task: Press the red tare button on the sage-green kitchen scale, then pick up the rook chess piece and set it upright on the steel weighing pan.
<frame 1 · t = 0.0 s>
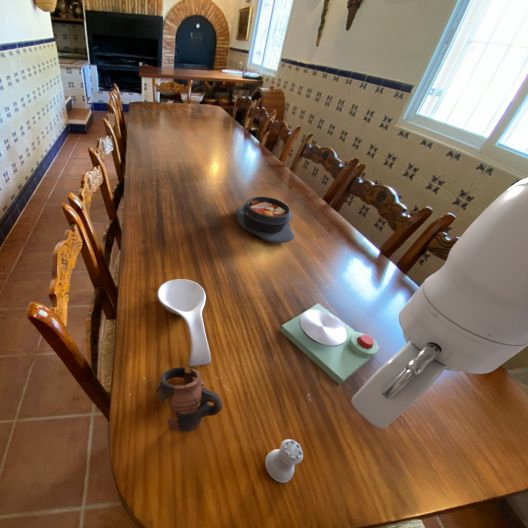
hand: (385, 392, 39), 19 cm above the table, tool pointing down, fingers open, 8 cm apart
scale: (326, 342, 69), on the table
casserole: (262, 227, 106), on the table
tare button: (365, 341, 64), point 4 cm above the table, slide at 0.1 cm
pottery mug: (187, 406, 55), on the table
weighing pan: (316, 337, 69), resting on scale
rook chess piece: (277, 467, 48), on the table
spoon rest: (186, 323, 70), on the table
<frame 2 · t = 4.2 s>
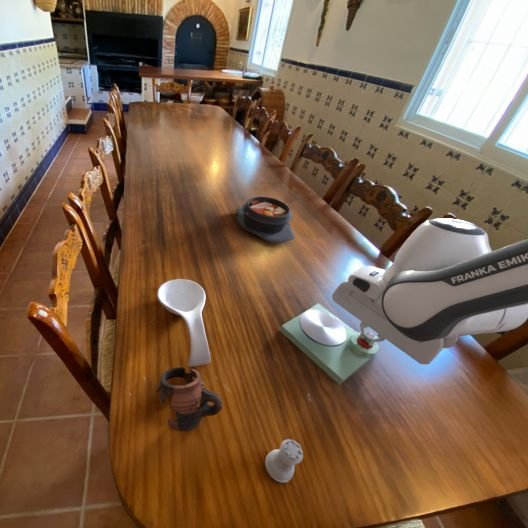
hand: (365, 340, 64), 4 cm above the table, tool pointing down, fingers closed, pressing on tare button
tare button: (364, 342, 65), point 3 cm above the table, slide at -0.4 cm, touching gripper
everything else where it was.
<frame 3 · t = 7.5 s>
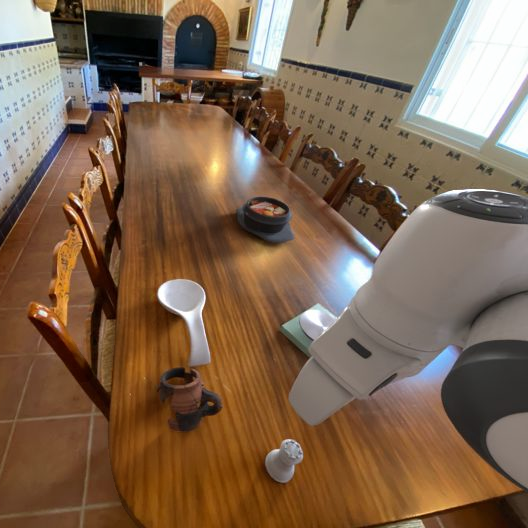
hand: (334, 394, 41), 17 cm above the table, tool pointing down, fingers closed
tare button: (365, 341, 64), point 4 cm above the table, slide at 0.1 cm
everything else where it was.
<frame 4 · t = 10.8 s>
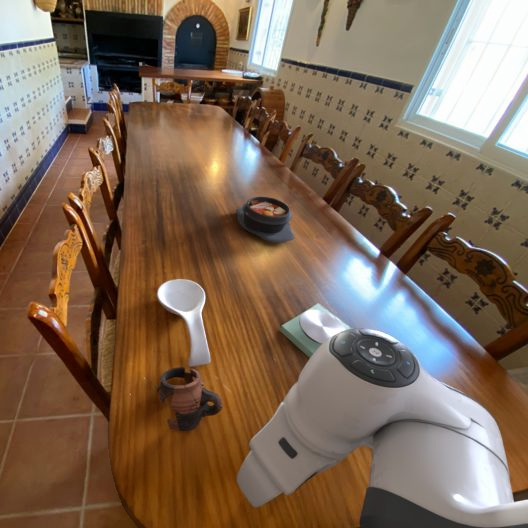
hand: (283, 461, 47), 3 cm above the table, tool pointing down, fingers closed on rook chess piece, 3 cm apart
rook chess piece: (277, 467, 48), on the table, touching gripper
everything else where it was.
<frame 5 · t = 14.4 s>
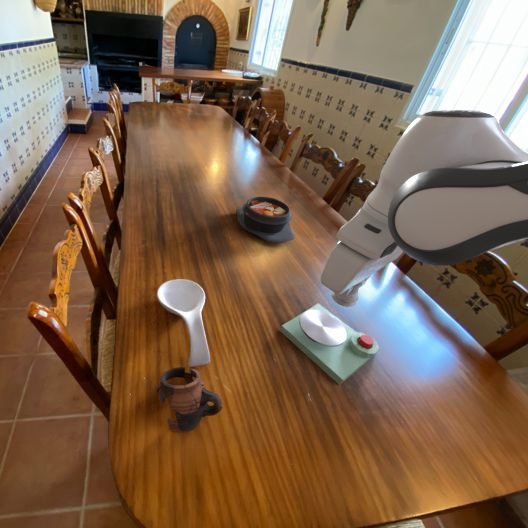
hand: (349, 289, 54), 19 cm above the table, tool pointing down, fingers closed on rook chess piece, 3 cm apart
rook chess piece: (342, 300, 56), point 16 cm above the table, touching gripper
everything else where it was.
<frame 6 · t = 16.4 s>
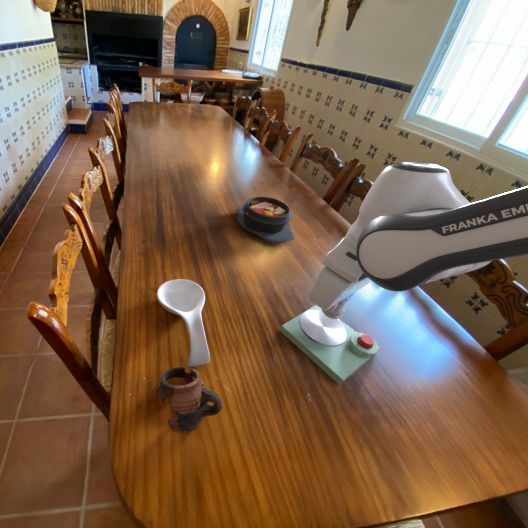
hand: (336, 304, 62), 12 cm above the table, tool pointing down, fingers closed on rook chess piece, 3 cm apart
rook chess piece: (330, 312, 64), point 9 cm above the table, touching gripper
everything else where it was.
when the fingers open (7 cm above the table, at t = 17.9 s): rook chess piece stays where it is, resting on weighing pan.
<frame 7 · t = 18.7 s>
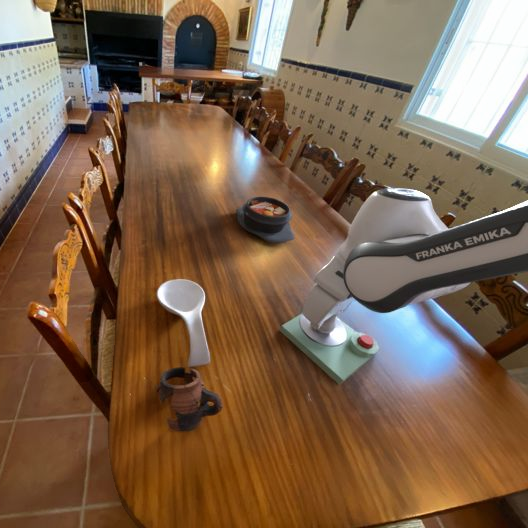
hand: (328, 317, 65), 7 cm above the table, tool pointing down, fingers open, 8 cm apart
rook chess piece: (322, 327, 67), point 4 cm above the table, touching weighing pan
everything else where it was.
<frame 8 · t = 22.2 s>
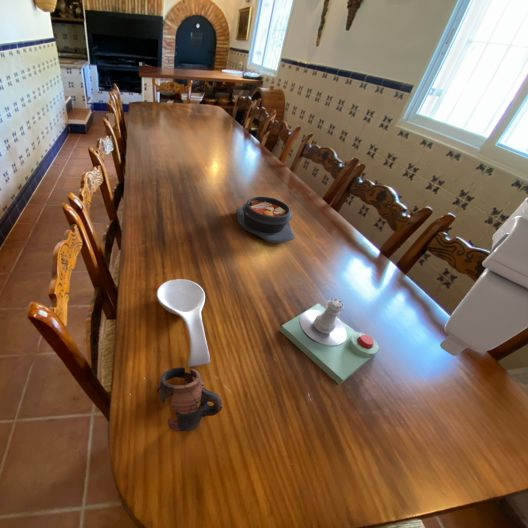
hand: (463, 332, 37), 27 cm above the table, tool pointing down, fingers open, 8 cm apart
nothing on the table moved.
at the end: tare button pushed in 0.8 cm at the most during the clip, back to where it started at the end; rook chess piece inside the target area on the weighing pan (0.0 cm from its centre), point 3.9 cm above the weighing pan's base; rook chess piece tilted 0° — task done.
